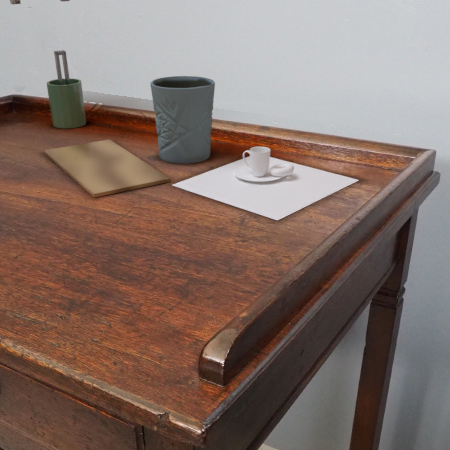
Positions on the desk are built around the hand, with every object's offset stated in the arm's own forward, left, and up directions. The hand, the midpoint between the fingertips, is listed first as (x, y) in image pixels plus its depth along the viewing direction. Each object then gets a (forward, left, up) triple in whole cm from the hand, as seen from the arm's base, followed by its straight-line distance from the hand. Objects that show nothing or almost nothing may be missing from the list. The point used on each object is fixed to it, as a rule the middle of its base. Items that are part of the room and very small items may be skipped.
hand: (40, 2), depth 117 cm
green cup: (0, -8, -21) cm, 23 cm away
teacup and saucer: (+14, -56, -21) cm, 61 cm away
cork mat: (-4, -36, -21) cm, 42 cm away
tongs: (0, -8, -14) cm, 16 cm away
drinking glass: (+10, -38, -21) cm, 45 cm away
